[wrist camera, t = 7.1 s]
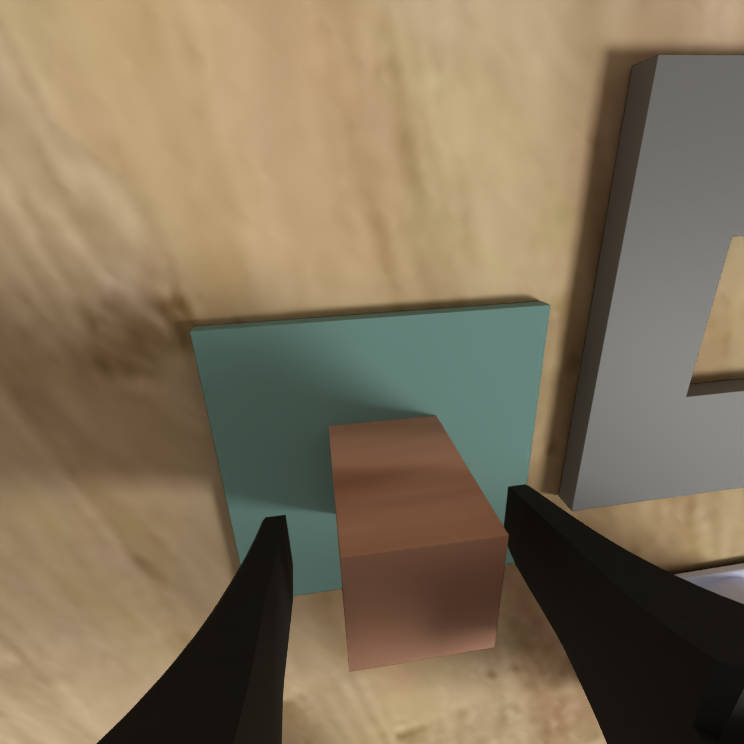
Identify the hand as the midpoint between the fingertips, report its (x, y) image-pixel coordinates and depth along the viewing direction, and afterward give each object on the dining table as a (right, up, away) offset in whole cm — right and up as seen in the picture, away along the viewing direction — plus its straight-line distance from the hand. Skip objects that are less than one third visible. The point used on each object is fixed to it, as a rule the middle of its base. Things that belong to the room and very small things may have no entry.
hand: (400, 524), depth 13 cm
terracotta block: (0, +1, +3) cm, 3 cm away
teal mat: (-1, +1, +3) cm, 4 cm away
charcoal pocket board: (+14, +7, +3) cm, 16 cm away
